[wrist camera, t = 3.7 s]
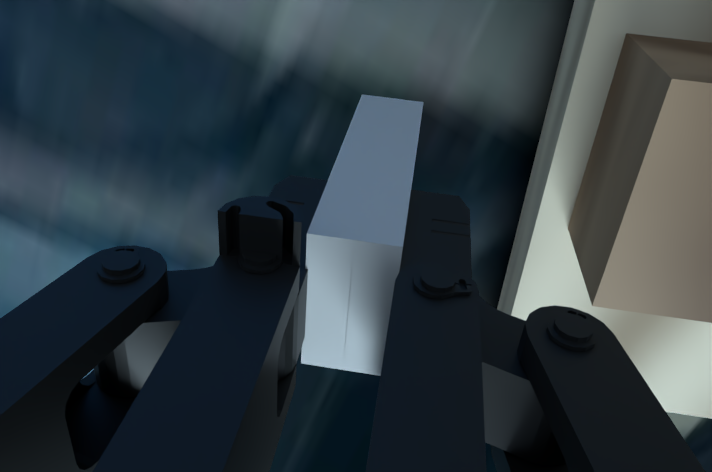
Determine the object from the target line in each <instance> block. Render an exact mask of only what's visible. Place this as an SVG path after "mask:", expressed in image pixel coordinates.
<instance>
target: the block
mask: <svg viewBox="0 0 712 472" xmlns="http://www.w3.org/2000/svg"><path fill="white" fill-rule="evenodd" d="M568 231H569V234H570V237H571V241H572V244H573V247H574V250H575V253H576V256H577V260H578V263H579V266H580V269H581V272H582V276H583V279H584V282H585V285H586V288H587V291H588V295H589V298H590V301H591V304H592V306H595V307H602V308H609V309H616V310H623V311H630V312H637V313H644V314H652V315H659V316H666V317H673V318H680V319H687V320H694V321H701V322H709V323H712V43H710V42H701V41H692V40H683V39H674V38H665V37H656V36H647V35H638V34H629V33H626V36H625V39H624V42H623V46H622V49H621V52H620V56H619V59H618V62H617V66H616V69H615V72H614V76H613V79H612V82H611V86H610V89H609V92H608V96H607V99H606V102H605V106H604V109H603V112H602V116H601V119H600V122H599V126H598V129H597V132H596V136H595V139H594V142H593V146H592V149H591V152H590V156H589V159H588V162H587V166H586V169H585V172H584V176H583V179H582V182H581V186H580V189H579V192H578V196H577V199H576V202H575V206H574V209H573V212H572V216H571V219H570V222H569V226H568Z"/></svg>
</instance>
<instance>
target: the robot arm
mask: <svg viewBox="0 0 712 472" xmlns="http://www.w3.org/2000/svg"><path fill="white" fill-rule="evenodd" d="M422 108H423V102H418V101H410V100H402V99H394V98H385V97H377V96H369V95H362V96H361V99H360V101H359V104H358V106H357V109H356V111H355V114H354V116H353V119H352V121H351V124H350V126H349V129H348V131H347V134H346V136H345V139H344V141H343V144H342V146H341V149H340V151H339V154H338V156H337V159H336V161H335V164H334V166H333V169H332V171H331V174H330V177H329V179H328V180H321V179H314V178H307V177H299V176H292V175H291V176H289V177H287V178H286V179H284V180H283V181H281V182H279V183H278V184H276V185H275V186H274V188H273V190H272V192H271V193H270V195H269V197H266V196H251V197H245V198H239V199H236V200H234V201H231V202H229V203H226V204H225V205H224V206H223V207H222V208H220V209H219V210H218V228H219V250H220V255H219V257H218V259H217V261H216V262H215V264H214V266H211V267H208V268H202V269H194V270H178V271H167V265H166V261H165V260H164V258H163V257H162V255H161V254H160V253H158V252H156V251H154V250H152V249H150V248H145V247H139V246H117V247H113V248H109V249H105V250H101V251H99V252H97V253H95V254H93V255H91V256H89V257H88V258H86V259H85V260H83V261H82V262H80V263H79V264H77V265H76V266H75V267H73V268H72V269H70V270H69V271H67V272H66V273H65V274H63V275H62V276H60V277H59V278H57V279H56V280H55V281H53V282H52V283H50V284H49V285H48V286H46V287H45V288H43V289H42V290H40V291H39V292H38V293H36V294H35V295H33V296H32V297H30V298H29V299H28V300H26V301H25V302H23V303H22V304H20V305H19V306H18V307H16V308H15V309H13V310H12V311H10V312H9V313H8V314H6V315H5V316H3V317H2V318H0V472H269V471H270V468H271V464H272V461H273V458H274V454H275V451H276V448H277V444H278V441H279V438H280V434H281V431H282V428H283V425H284V421H285V418H286V415H287V411H288V408H289V405H290V401H291V398H292V395H293V391H294V388H295V383H296V363H297V360H298V356H299V353H300V350H301V347H302V356H301V363H303V364H309V365H316V366H322V367H328V368H335V369H341V370H347V371H354V372H360V373H366V374H372V375H379V376H380V383H379V389H378V396H377V402H376V409H375V415H374V422H373V428H372V435H371V441H370V448H369V454H368V461H367V467H366V472H486V451H485V442H486V443H489V444H491V452H492V457H493V460H494V463H495V466H496V469H497V472H705V470H704V469H703V467H702V466H701V464H700V463H699V461H698V460H697V458H696V457H695V455H694V454H693V452H692V451H691V449H690V448H689V446H688V445H687V443H686V442H685V440H684V439H683V437H682V436H681V434H680V433H679V431H678V430H677V428H676V427H675V425H674V424H673V422H672V421H671V419H670V418H669V416H668V415H667V413H666V412H665V410H664V409H663V407H662V406H661V404H660V403H659V401H658V400H657V398H656V396H655V395H654V393H653V392H652V390H651V389H650V387H649V386H648V384H647V383H646V381H645V380H644V378H643V377H642V375H641V374H640V372H639V371H638V369H637V368H636V366H635V365H634V363H633V362H632V360H631V359H630V357H629V356H628V354H627V353H626V351H625V350H624V348H623V347H622V345H621V344H620V342H619V341H618V339H617V338H616V336H615V335H614V333H613V332H612V331H611V330H610V329H609V328H608V327H607V326H606V325H605V324H604V323H603V322H602V321H600V320H598V319H597V318H595V317H593V316H592V315H590V314H589V313H586V312H583V311H581V310H577V309H574V308H572V307H564V306H556V305H553V306H546V307H540V308H538V309H536V310H535V311H533V312H531V313H530V314H529V316H528V318H527V320H526V321H525V320H522V319H519V318H517V317H514V316H511V315H508V314H506V313H504V312H502V311H499V310H497V309H495V308H494V307H492V306H491V305H489V304H488V303H486V302H485V301H484V300H483V299H482V298H481V297H480V296H479V291H478V288H477V286H476V283H475V282H474V281H473V280H472V272H471V239H470V210H469V208H468V207H467V206H466V205H465V203H464V202H463V201H462V199H461V198H460V197H459V196H453V195H446V194H438V193H431V192H424V191H416V190H411V186H412V179H413V172H414V165H415V158H416V151H417V144H418V137H419V130H420V123H421V116H422ZM93 368H94V370H93V371H92V372H91V373H90V374H89V375H88V376H86V375H87V374H88V373H89V372H90V371H91V370H92V369H93ZM84 376H86V377H85V378H83V377H84ZM82 378H83V379H82ZM81 379H82V380H81Z"/></svg>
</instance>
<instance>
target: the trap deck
mask: <svg viewBox="0 0 712 472" xmlns="http://www.w3.org/2000/svg"><path fill="white" fill-rule="evenodd" d="M626 33H629V34H638V35H647V36H656V37H665V38H674V39H683V40H692V41H701V42H710V43H712V0H574V4H573V8H572V12H571V16H570V20H569V24H568V28H567V32H566V36H565V40H564V44H563V48H562V52H561V56H560V60H559V64H558V68H557V72H556V76H555V80H554V84H553V88H552V91H551V95H550V99H549V103H548V107H547V111H546V115H545V119H544V123H543V127H542V131H541V135H540V139H539V143H538V147H537V151H536V155H535V159H534V163H533V167H532V171H531V175H530V179H529V183H528V187H527V191H526V195H525V199H524V203H523V207H522V211H521V215H520V219H519V223H518V227H517V231H516V235H515V239H514V243H513V247H512V251H511V255H510V259H509V263H508V267H507V271H506V275H505V279H504V283H503V287H502V291H501V295H500V299H499V303H498V307H497V310H499V311H502V312H504V313H506V314H508V315H511V316H514V317H517V318H519V319H522V320H525V321H526V320H527V318H528V316H529V314H530V313H531V312H533V311H535V310H536V309H538V308H540V307H546V306H553V305H556V306H564V307H572V308H574V309H577V310H581V311H583V312H586V313H589V314H590V315H592V316H593V317H595V318H597V319H598V320H600V321H602V322H603V323H604V324H605V325H606V326H607V327H608V328H609V329H610V330H611V331H612V332H613V333H614V335H615V336H616V338H617V339H618V341H619V342H620V344H621V345H622V347H623V348H624V350H625V351H626V353H627V354H628V356H629V357H630V359H631V360H632V362H633V363H634V365H635V366H636V368H637V369H638V371H639V372H640V374H641V375H642V377H643V378H644V380H645V381H646V383H647V384H648V386H649V387H650V389H651V390H652V392H653V393H654V395H655V396H656V398H657V400H658V401H659V403H660V404H661V406H662V407H663V409H664V410H665V412H671V413H678V414H685V415H691V416H698V417H705V418H711V419H712V323H709V322H701V321H694V320H687V319H680V318H673V317H666V316H659V315H652V314H644V313H637V312H630V311H623V310H616V309H609V308H602V307H595V306H592V304H591V301H590V298H589V295H588V291H587V288H586V285H585V282H584V279H583V276H582V272H581V269H580V266H579V263H578V260H577V256H576V253H575V250H574V247H573V244H572V241H571V237H570V234H569V231H568V226H569V222H570V219H571V216H572V212H573V209H574V206H575V202H576V199H577V196H578V192H579V189H580V186H581V182H582V179H583V176H584V172H585V169H586V166H587V162H588V159H589V156H590V152H591V149H592V146H593V142H594V139H595V136H596V132H597V129H598V126H599V122H600V119H601V116H602V112H603V109H604V106H605V102H606V99H607V96H608V92H609V89H610V86H611V82H612V79H613V76H614V72H615V69H616V66H617V62H618V59H619V56H620V52H621V49H622V46H623V42H624V39H625V36H626Z"/></svg>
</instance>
